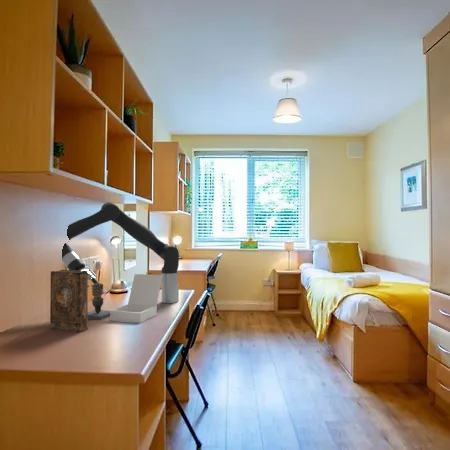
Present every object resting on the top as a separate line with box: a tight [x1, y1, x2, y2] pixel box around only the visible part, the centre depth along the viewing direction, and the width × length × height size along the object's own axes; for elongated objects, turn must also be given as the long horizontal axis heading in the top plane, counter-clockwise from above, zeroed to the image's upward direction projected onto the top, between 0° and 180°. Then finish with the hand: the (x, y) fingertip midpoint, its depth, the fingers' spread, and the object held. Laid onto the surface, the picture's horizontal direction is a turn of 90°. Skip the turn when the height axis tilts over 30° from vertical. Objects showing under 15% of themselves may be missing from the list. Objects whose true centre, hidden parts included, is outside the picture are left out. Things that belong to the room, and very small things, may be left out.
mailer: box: [109, 273, 163, 324], centre depth 179 cm, size 23×16×19 cm
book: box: [49, 269, 89, 333], centre depth 156 cm, size 16×6×25 cm, turn 70°
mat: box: [88, 309, 111, 321], centre depth 179 cm, size 12×12×2 cm
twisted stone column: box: [90, 282, 104, 313], centre depth 179 cm, size 6×6×15 cm
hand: (92, 286), depth 180 cm, fingers open, 8 cm apart
